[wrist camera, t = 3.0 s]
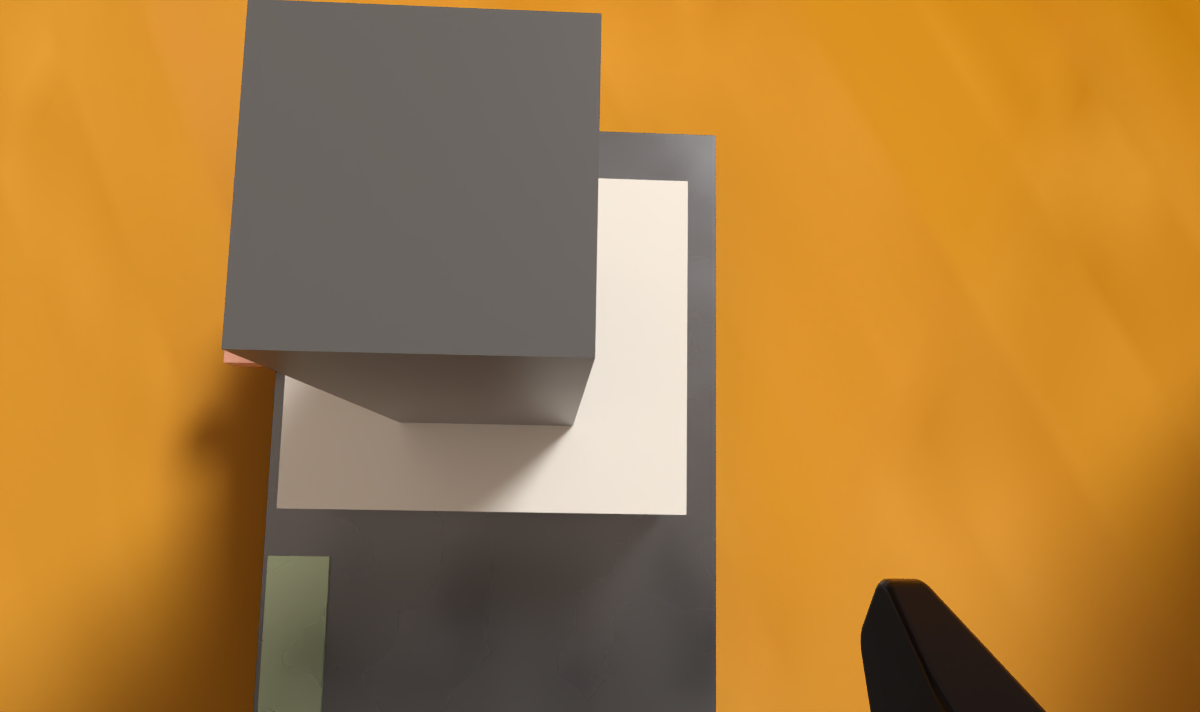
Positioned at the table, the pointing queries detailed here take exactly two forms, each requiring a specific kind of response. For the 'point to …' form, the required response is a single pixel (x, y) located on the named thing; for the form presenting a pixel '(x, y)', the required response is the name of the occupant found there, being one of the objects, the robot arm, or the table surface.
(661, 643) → the nutcracker bench
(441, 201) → the press carriage
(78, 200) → the table surface
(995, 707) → the robot arm
